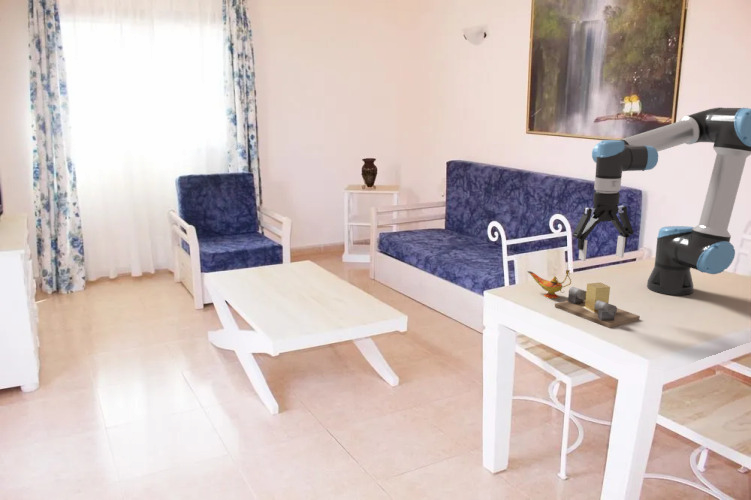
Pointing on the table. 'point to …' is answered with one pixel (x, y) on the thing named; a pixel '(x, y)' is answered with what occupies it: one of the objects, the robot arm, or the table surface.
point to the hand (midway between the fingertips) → (601, 258)
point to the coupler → (596, 295)
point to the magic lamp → (550, 284)
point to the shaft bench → (593, 317)
